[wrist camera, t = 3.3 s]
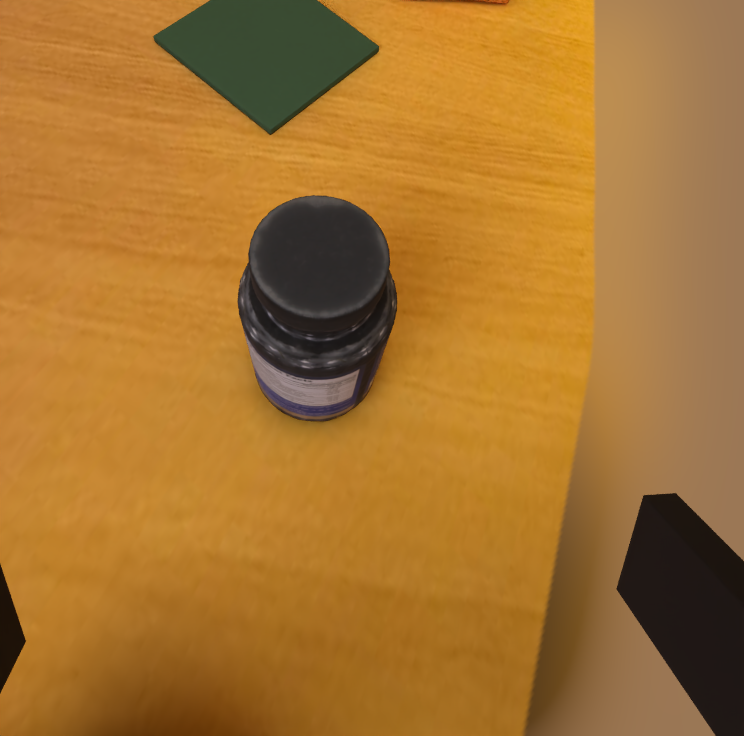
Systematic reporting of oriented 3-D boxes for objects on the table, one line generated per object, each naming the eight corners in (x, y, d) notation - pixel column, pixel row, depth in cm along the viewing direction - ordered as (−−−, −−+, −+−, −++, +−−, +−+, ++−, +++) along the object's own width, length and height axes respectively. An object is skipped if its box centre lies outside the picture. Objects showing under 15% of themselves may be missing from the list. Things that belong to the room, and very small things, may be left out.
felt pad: (378, 51, 37) (379, 46, 36) (270, 135, 33) (270, 129, 33) (268, -31, 38) (268, -37, 38) (154, 41, 35) (152, 36, 34)
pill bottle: (312, 291, 30) (317, 145, 20) (398, 364, 29) (449, 251, 19) (228, 369, 28) (185, 252, 18) (318, 450, 27) (326, 376, 17)
